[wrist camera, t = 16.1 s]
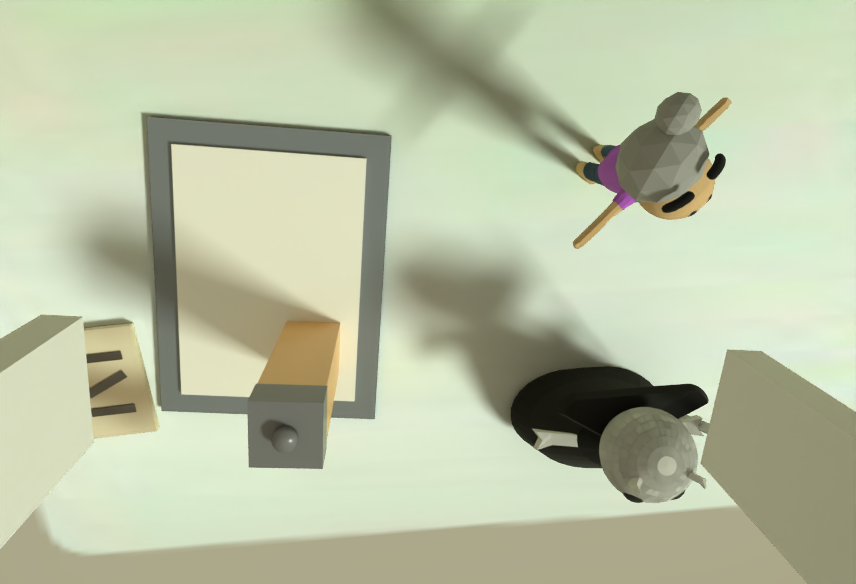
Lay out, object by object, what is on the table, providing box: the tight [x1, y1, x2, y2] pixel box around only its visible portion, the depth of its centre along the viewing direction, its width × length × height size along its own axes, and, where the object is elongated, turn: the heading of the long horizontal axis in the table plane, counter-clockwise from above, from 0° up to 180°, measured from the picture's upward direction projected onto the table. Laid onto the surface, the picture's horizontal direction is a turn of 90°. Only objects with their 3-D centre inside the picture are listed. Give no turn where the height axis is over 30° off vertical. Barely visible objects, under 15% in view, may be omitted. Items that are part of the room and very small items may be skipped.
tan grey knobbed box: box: [247, 321, 340, 469], centre depth 36 cm, size 4×4×13 cm
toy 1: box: [573, 92, 731, 249], centre depth 33 cm, size 10×6×15 cm, turn 136°
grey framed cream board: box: [147, 117, 391, 419], centre depth 41 cm, size 20×15×1 cm
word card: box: [84, 323, 160, 439], centre depth 42 cm, size 8×5×1 cm, turn 6°
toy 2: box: [511, 367, 710, 503], centre depth 38 cm, size 12×7×15 cm, turn 93°
